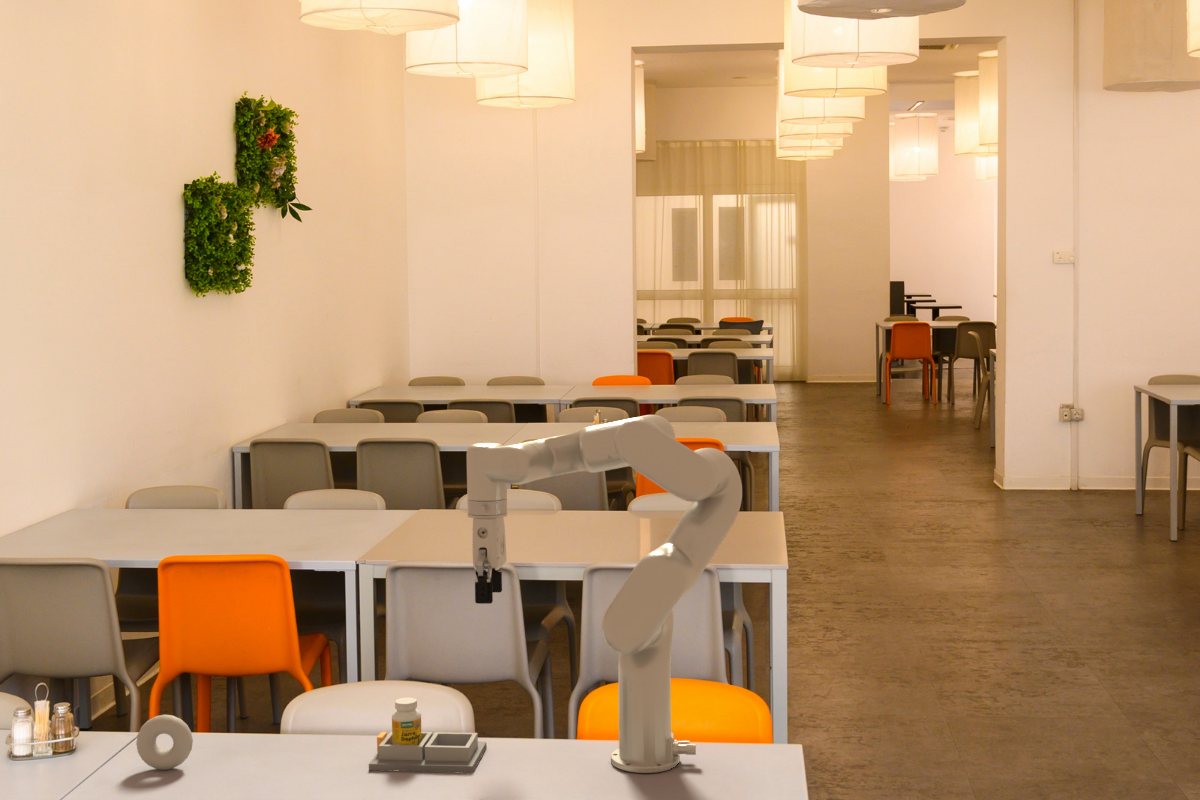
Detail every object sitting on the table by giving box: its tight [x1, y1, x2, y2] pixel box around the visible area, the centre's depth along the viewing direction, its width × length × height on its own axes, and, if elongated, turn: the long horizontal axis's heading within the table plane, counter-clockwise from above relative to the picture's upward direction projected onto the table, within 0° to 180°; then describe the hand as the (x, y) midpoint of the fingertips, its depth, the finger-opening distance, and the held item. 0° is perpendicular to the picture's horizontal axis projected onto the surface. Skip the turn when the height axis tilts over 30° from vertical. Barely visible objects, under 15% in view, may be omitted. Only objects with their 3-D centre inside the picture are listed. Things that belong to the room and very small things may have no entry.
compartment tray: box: [368, 730, 487, 774], centre depth 218 cm, size 19×13×4 cm
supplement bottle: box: [391, 697, 422, 745], centre depth 218 cm, size 5×5×10 cm
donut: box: [135, 714, 194, 771], centre depth 214 cm, size 10×4×10 cm, turn 92°
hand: (488, 597), depth 225 cm, fingers open, 9 cm apart
